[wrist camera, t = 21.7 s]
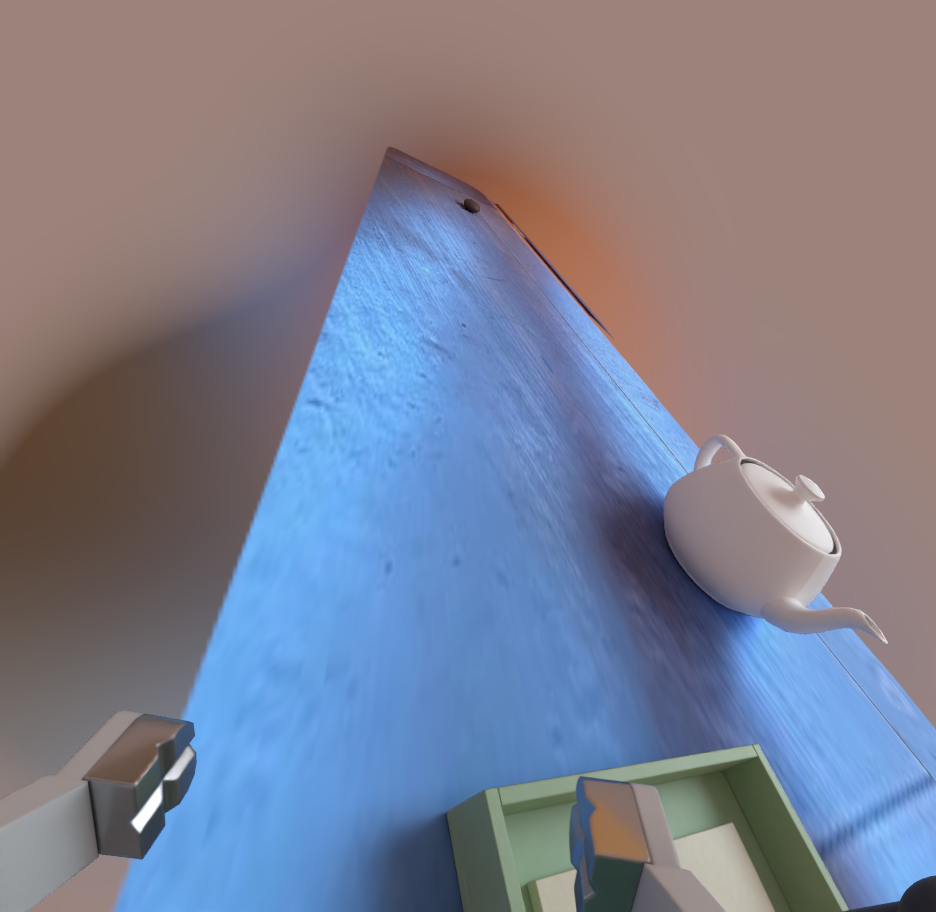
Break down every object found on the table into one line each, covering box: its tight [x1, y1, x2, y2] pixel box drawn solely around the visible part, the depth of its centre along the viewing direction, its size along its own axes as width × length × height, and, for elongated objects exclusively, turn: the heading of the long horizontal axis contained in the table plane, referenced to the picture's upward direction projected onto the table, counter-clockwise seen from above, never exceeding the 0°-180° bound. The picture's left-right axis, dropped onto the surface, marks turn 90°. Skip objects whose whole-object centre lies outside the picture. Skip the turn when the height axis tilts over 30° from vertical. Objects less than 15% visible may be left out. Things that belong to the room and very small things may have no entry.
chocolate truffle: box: [464, 199, 480, 213], centre depth 86 cm, size 3×3×2 cm
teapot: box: [663, 434, 888, 644], centre depth 42 cm, size 22×14×11 cm, turn 5°
